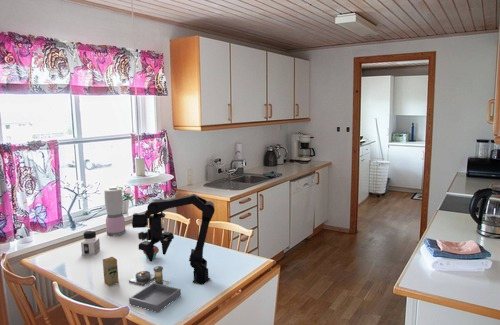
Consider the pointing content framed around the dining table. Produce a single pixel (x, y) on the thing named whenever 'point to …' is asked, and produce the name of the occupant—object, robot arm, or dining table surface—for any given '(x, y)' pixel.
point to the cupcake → (154, 252)
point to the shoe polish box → (110, 271)
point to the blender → (114, 211)
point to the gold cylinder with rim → (158, 275)
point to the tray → (155, 297)
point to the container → (90, 243)
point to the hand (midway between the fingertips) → (157, 258)
